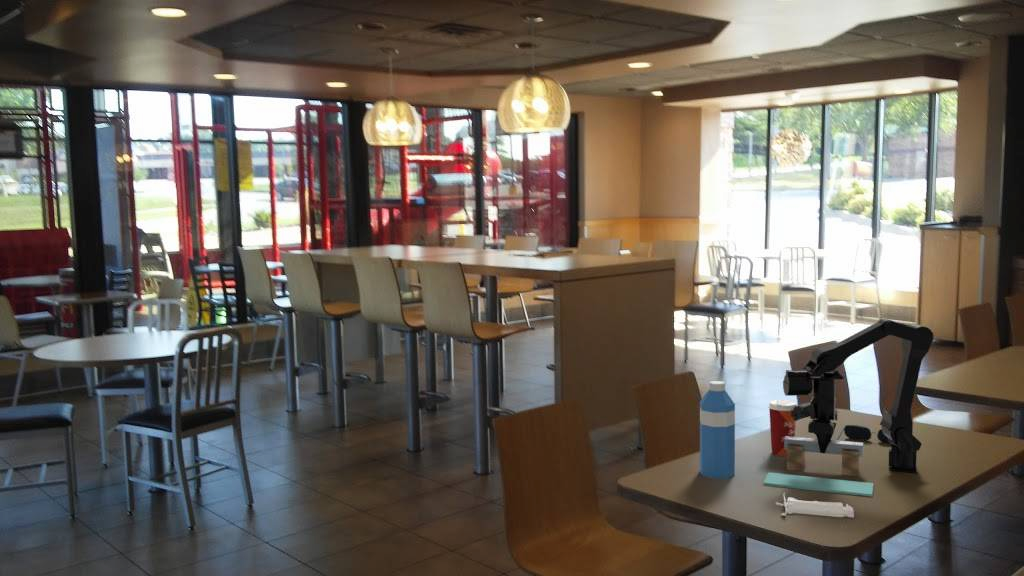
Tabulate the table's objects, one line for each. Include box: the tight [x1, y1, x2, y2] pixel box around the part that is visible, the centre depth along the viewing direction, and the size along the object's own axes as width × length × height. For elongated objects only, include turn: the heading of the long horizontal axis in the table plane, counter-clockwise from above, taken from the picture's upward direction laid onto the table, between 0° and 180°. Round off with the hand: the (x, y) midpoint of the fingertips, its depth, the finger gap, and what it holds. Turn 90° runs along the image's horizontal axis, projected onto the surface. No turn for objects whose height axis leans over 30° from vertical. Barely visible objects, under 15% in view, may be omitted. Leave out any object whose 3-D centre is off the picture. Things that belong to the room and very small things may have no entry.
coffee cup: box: [767, 399, 798, 457], centre depth 252 cm, size 8×8×15 cm
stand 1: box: [786, 445, 806, 472], centre depth 239 cm, size 4×6×6 cm, turn 156°
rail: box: [784, 436, 864, 458], centre depth 236 cm, size 20×3×3 cm, turn 66°
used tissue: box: [775, 491, 855, 518], centre depth 204 cm, size 11×18×4 cm, turn 63°
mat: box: [763, 472, 874, 497], centre depth 224 cm, size 26×9×1 cm, turn 66°
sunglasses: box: [836, 424, 891, 444], centre depth 256 cm, size 17×15×5 cm
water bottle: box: [699, 380, 736, 479], centre depth 234 cm, size 9×9×25 cm
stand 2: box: [841, 450, 860, 477], centre depth 234 cm, size 4×6×6 cm, turn 156°
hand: (823, 451), depth 236 cm, fingers closed on rail, 3 cm apart
